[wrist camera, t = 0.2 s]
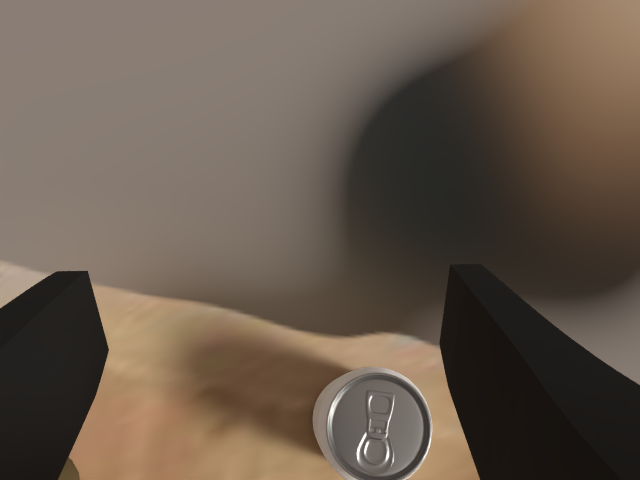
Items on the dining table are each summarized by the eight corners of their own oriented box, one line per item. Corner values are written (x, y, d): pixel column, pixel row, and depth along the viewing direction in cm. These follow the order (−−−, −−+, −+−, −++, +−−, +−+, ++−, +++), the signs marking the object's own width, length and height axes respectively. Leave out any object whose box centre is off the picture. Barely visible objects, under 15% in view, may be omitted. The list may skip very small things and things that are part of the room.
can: (306, 460, 39) (310, 485, 28) (318, 368, 41) (325, 356, 30) (395, 472, 39) (436, 502, 28) (403, 380, 41) (443, 372, 30)
